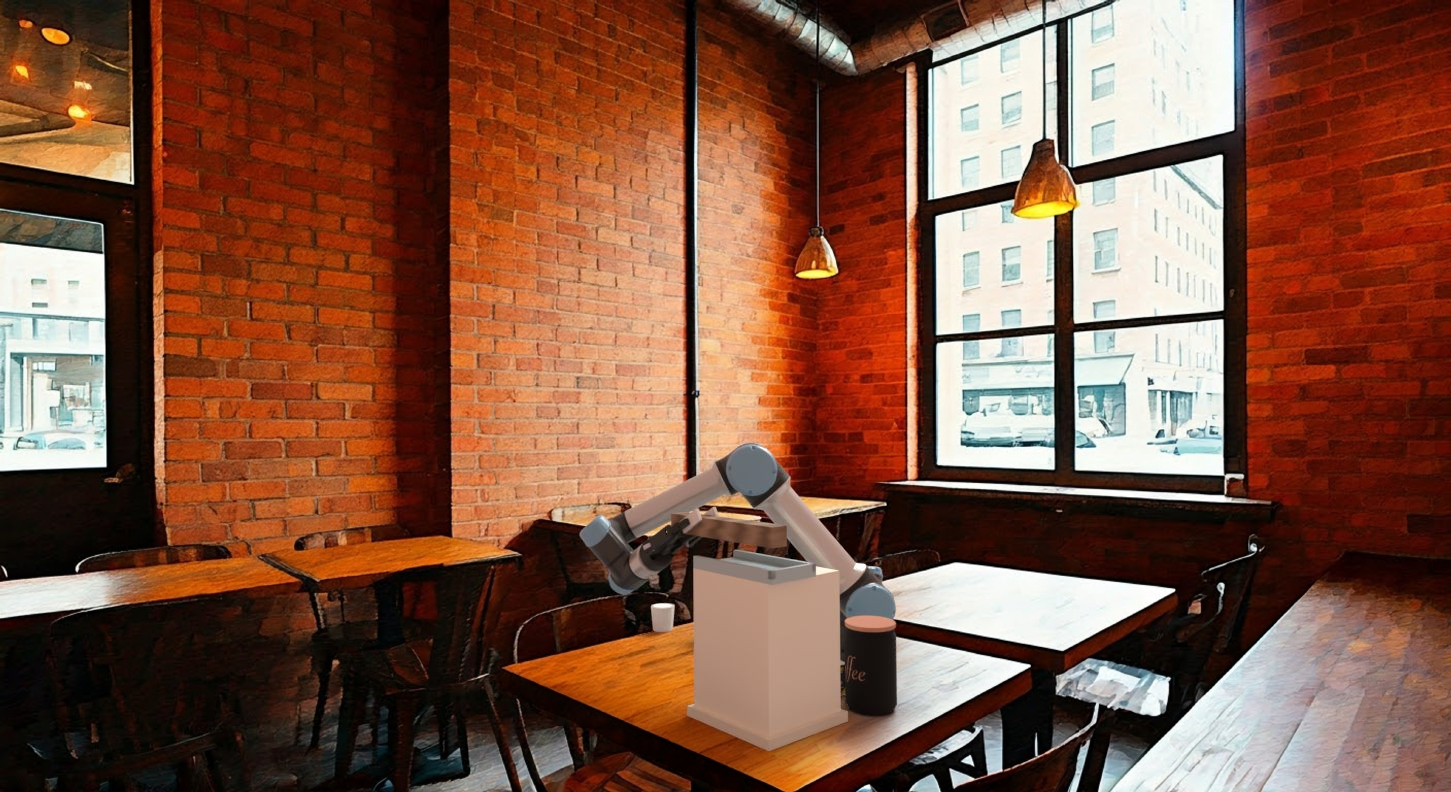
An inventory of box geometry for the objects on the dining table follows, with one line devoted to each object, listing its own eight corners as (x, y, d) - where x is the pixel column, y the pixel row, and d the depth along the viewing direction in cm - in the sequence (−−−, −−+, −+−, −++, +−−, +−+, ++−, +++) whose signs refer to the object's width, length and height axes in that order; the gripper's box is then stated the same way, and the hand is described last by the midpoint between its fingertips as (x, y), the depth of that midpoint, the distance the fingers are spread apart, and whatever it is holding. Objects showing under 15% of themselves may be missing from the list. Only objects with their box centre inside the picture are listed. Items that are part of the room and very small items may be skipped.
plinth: (687, 715, 165) (686, 568, 166) (764, 691, 180) (763, 555, 180) (768, 751, 147) (767, 585, 148) (847, 721, 161) (846, 570, 162)
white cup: (671, 633, 229) (671, 608, 229) (647, 632, 231) (647, 607, 231) (677, 627, 236) (677, 603, 236) (654, 626, 237) (654, 602, 238)
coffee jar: (840, 700, 174) (839, 615, 174) (888, 698, 175) (887, 614, 175) (852, 718, 163) (851, 628, 164) (903, 716, 164) (902, 627, 165)
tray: (693, 568, 166) (693, 556, 166) (736, 561, 174) (736, 549, 174) (771, 585, 149) (771, 571, 149) (816, 576, 156) (815, 563, 157)
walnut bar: (671, 531, 178) (671, 513, 178) (685, 529, 181) (685, 512, 181) (772, 548, 154) (771, 527, 154) (786, 546, 157) (786, 525, 157)
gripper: (686, 567, 191) (743, 526, 176) (626, 576, 180) (681, 533, 165) (676, 538, 194) (732, 494, 179) (616, 545, 183) (670, 500, 168)
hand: (707, 513), depth 172 cm, fingers closed on walnut bar, 4 cm apart
